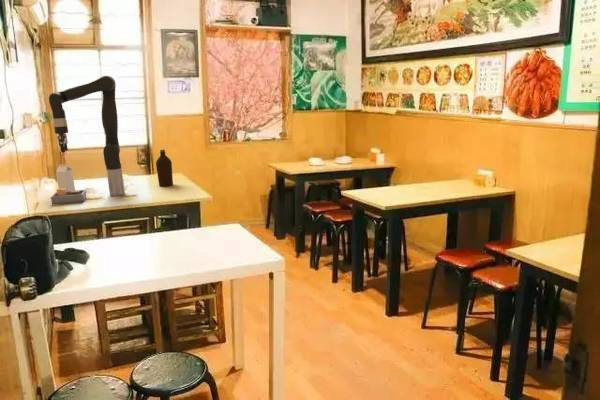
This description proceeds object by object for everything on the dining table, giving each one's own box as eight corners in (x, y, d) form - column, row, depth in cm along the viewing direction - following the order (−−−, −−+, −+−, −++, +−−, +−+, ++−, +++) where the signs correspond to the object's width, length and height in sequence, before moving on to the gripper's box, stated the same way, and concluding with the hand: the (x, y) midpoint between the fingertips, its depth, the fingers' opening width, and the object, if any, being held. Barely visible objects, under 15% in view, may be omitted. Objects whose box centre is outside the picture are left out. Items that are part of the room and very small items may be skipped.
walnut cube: (81, 197, 312) (80, 189, 311) (80, 199, 308) (79, 191, 306) (73, 198, 311) (71, 190, 310) (71, 200, 306) (70, 192, 305)
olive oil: (162, 187, 337) (158, 151, 331) (155, 185, 345) (151, 150, 339) (176, 185, 344) (173, 149, 337) (169, 183, 352) (166, 148, 345)
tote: (87, 197, 317) (86, 189, 316) (83, 202, 304) (82, 194, 303) (56, 199, 313) (55, 192, 312) (52, 205, 300) (50, 197, 299)
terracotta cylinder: (68, 198, 310) (66, 187, 309) (66, 200, 305) (64, 189, 304) (59, 199, 309) (57, 188, 307) (57, 201, 304) (55, 190, 303)
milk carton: (68, 193, 330) (64, 165, 325) (59, 193, 332) (54, 165, 327) (75, 191, 337) (71, 163, 332) (66, 190, 338) (61, 163, 334)
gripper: (65, 126, 300) (69, 152, 304) (69, 124, 313) (73, 149, 317) (51, 127, 298) (55, 153, 302) (56, 125, 311) (60, 150, 315)
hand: (64, 151), depth 310 cm, fingers open, 8 cm apart
